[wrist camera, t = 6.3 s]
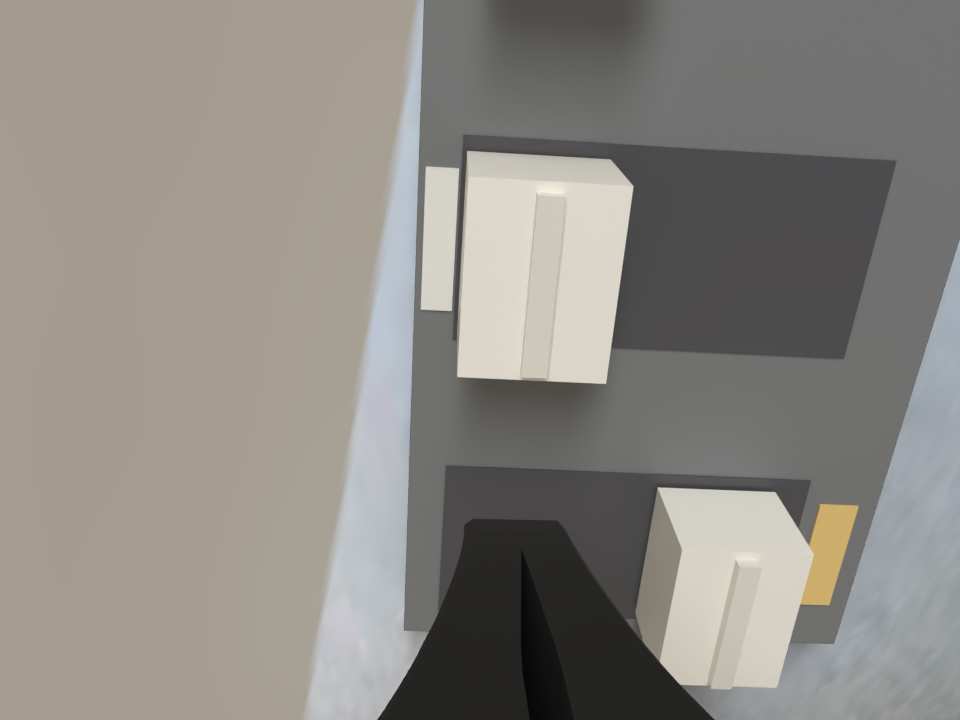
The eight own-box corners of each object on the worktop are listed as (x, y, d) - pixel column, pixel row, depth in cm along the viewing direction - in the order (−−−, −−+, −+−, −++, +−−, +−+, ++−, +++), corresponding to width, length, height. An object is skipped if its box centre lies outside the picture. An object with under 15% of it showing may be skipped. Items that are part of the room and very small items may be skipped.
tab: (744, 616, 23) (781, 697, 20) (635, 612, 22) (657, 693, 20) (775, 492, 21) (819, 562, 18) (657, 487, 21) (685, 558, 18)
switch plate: (813, 607, 25) (834, 645, 23) (407, 593, 24) (403, 631, 23) (1081, -319, 16) (1144, -349, 14) (438, -377, 15) (436, -414, 14)
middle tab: (588, 335, 19) (608, 390, 16) (457, 329, 19) (457, 383, 16) (610, 159, 17) (636, 189, 15) (466, 150, 17) (468, 180, 15)
